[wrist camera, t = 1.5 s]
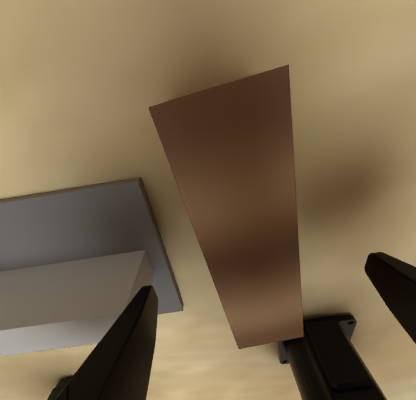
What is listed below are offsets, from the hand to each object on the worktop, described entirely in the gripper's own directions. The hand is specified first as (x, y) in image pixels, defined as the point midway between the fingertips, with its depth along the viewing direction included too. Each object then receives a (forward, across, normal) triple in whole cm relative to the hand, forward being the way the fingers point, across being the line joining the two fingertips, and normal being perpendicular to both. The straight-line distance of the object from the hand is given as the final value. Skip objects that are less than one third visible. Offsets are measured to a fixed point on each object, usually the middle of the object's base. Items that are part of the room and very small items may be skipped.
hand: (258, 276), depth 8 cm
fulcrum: (+4, +11, +2) cm, 12 cm away
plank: (+5, 0, 0) cm, 5 cm away
